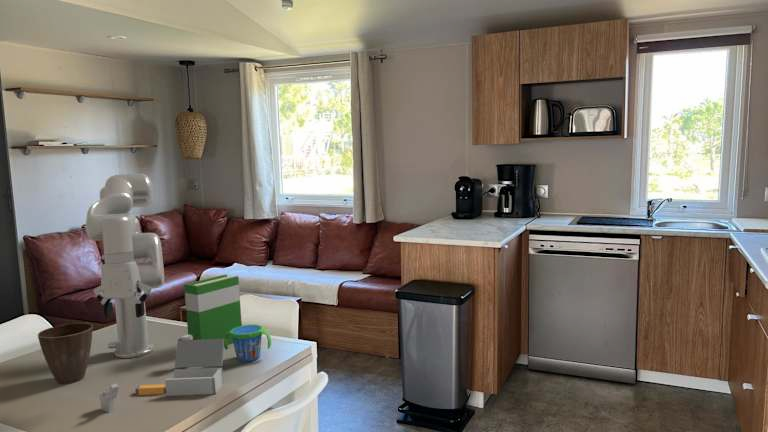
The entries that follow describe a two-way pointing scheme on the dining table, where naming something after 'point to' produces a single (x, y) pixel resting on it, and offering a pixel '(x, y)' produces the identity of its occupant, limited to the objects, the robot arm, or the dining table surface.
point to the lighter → (109, 398)
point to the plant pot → (67, 350)
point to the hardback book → (213, 307)
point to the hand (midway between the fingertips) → (124, 316)
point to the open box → (194, 381)
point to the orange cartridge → (151, 389)
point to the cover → (199, 353)
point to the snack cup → (247, 341)
